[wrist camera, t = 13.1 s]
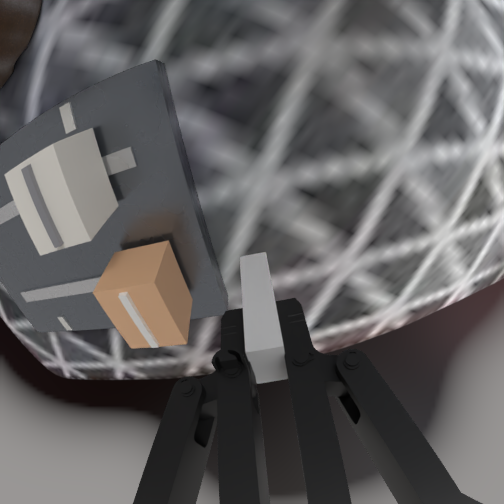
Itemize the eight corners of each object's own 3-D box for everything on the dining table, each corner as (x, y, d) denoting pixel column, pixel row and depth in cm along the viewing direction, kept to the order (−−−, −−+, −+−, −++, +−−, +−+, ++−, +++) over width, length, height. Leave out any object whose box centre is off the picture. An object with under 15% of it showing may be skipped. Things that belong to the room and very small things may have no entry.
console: (-31, 178, 13) (-45, 187, 11) (164, 63, 12) (154, 59, 10) (44, 319, 23) (37, 333, 21) (228, 296, 22) (228, 315, 20)
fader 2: (114, 252, 16) (90, 296, 13) (168, 240, 16) (152, 286, 12) (143, 306, 19) (130, 352, 15) (192, 299, 19) (186, 347, 15)
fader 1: (44, 152, 12) (0, 176, 8) (92, 127, 12) (49, 145, 8) (70, 221, 15) (37, 258, 11) (118, 205, 14) (88, 244, 11)
